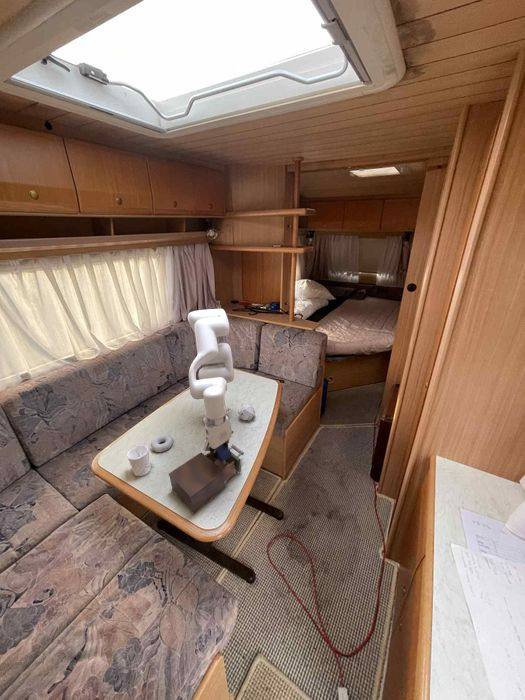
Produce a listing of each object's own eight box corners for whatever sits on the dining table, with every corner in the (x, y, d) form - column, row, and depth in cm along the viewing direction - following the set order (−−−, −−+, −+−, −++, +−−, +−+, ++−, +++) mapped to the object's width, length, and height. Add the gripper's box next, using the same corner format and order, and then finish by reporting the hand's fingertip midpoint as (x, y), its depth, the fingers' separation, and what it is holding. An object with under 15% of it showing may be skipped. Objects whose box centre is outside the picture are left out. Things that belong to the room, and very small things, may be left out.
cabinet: (203, 467, 117) (201, 452, 113) (225, 487, 107) (223, 471, 104) (172, 489, 107) (168, 473, 104) (193, 514, 98) (190, 497, 94)
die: (237, 415, 150) (233, 410, 142) (248, 403, 153) (245, 397, 144) (247, 426, 147) (244, 421, 138) (259, 413, 149) (256, 408, 141)
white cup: (140, 480, 112) (135, 462, 108) (128, 472, 116) (123, 454, 112) (156, 467, 118) (151, 449, 114) (144, 460, 122) (140, 442, 118)
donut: (164, 455, 124) (177, 440, 132) (163, 450, 122) (176, 435, 131) (147, 451, 127) (160, 436, 136) (145, 445, 126) (159, 431, 134)
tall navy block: (210, 452, 112) (209, 446, 111) (218, 446, 115) (218, 441, 114) (222, 462, 107) (221, 456, 106) (231, 456, 110) (230, 450, 109)
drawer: (229, 449, 125) (228, 437, 122) (249, 464, 116) (249, 452, 114) (195, 473, 113) (192, 460, 110) (215, 492, 104) (213, 479, 102)
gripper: (203, 433, 96) (209, 471, 103) (239, 411, 107) (242, 447, 114) (191, 423, 101) (197, 461, 108) (227, 404, 112) (230, 439, 119)
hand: (220, 453), depth 111 cm, fingers closed on tall navy block, 4 cm apart
